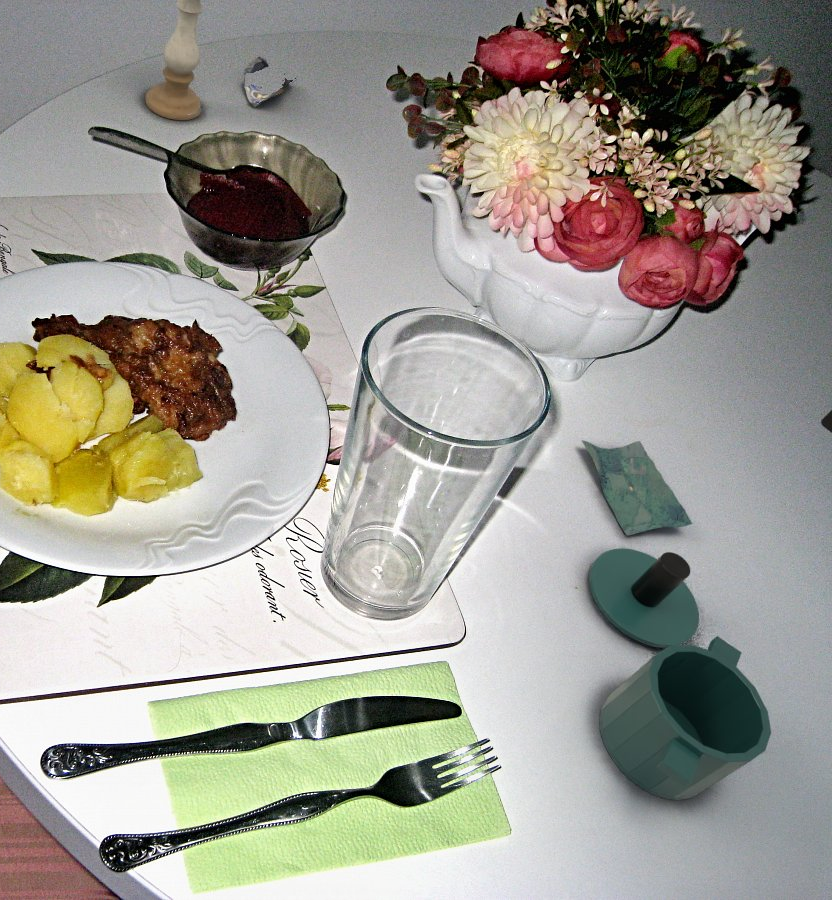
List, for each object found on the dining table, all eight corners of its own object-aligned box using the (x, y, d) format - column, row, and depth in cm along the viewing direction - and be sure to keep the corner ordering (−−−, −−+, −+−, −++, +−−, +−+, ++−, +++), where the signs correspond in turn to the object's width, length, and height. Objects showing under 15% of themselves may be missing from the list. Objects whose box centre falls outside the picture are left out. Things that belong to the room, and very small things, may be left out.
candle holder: (178, 87, 142) (201, -48, 128) (212, 115, 139) (239, -20, 124) (133, 96, 138) (151, -43, 123) (167, 125, 134) (190, -14, 119)
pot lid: (705, 601, 94) (745, 565, 89) (672, 673, 87) (714, 639, 82) (608, 536, 97) (641, 498, 92) (569, 600, 90) (603, 563, 85)
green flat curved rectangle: (684, 534, 99) (694, 524, 98) (623, 538, 97) (632, 527, 96) (632, 447, 107) (640, 436, 106) (575, 449, 105) (582, 438, 104)
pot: (730, 719, 84) (789, 677, 78) (680, 850, 75) (744, 814, 68) (631, 649, 87) (681, 604, 81) (571, 766, 78) (622, 725, 71)
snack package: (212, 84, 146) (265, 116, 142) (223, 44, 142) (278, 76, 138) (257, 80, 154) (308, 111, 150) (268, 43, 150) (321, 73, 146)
